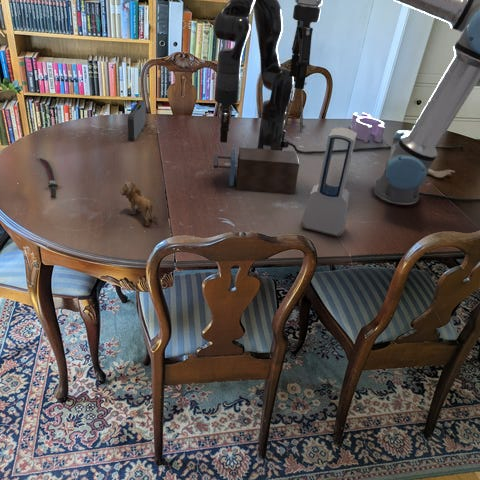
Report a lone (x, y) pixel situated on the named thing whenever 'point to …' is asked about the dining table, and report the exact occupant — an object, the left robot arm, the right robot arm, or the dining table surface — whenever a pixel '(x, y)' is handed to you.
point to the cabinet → (267, 170)
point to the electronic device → (330, 192)
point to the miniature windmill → (297, 110)
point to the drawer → (232, 166)
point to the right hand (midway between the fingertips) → (296, 82)
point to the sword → (52, 181)
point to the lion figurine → (137, 201)
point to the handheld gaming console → (136, 120)
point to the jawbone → (440, 173)
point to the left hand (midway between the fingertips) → (223, 138)
